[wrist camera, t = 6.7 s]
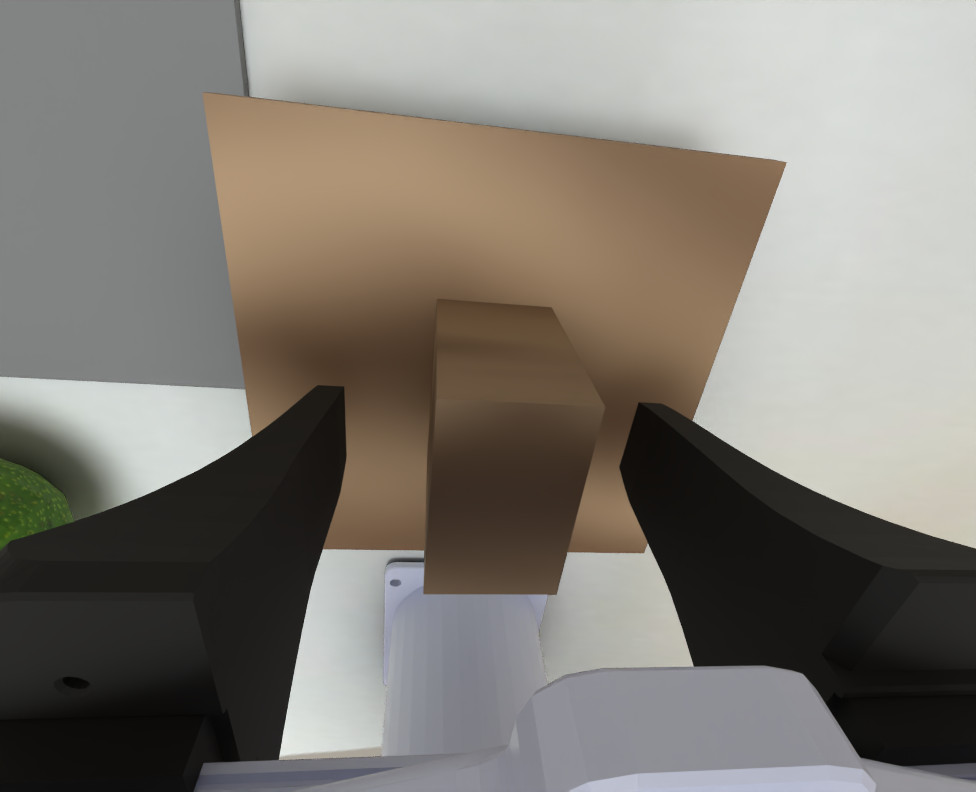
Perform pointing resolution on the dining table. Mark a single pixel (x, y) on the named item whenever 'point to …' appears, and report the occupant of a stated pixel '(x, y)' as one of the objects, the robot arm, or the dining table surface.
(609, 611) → the dining table surface
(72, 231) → the mat
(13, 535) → the avocado
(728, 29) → the dining table surface
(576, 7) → the dining table surface
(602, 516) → the cover board
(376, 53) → the dining table surface
